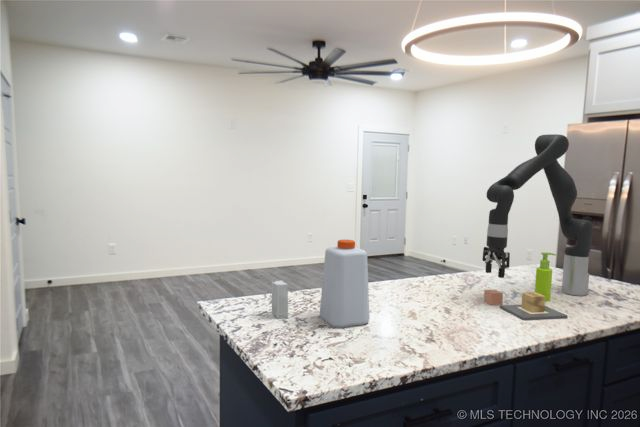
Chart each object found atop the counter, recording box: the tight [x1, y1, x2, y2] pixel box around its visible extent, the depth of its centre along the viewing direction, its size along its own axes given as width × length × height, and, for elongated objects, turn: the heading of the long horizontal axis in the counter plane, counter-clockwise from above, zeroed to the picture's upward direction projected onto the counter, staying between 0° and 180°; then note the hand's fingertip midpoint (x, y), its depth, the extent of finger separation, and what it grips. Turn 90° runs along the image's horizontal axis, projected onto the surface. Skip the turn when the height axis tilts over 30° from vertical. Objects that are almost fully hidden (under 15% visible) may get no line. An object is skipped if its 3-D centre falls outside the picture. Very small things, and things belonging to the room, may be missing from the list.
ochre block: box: [520, 291, 546, 313], centre depth 156 cm, size 6×6×6 cm
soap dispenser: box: [534, 251, 557, 302], centre depth 173 cm, size 6×7×20 cm
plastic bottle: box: [319, 239, 370, 328], centre depth 143 cm, size 15×15×28 cm
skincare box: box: [270, 279, 289, 320], centre depth 146 cm, size 6×4×12 cm
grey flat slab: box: [499, 304, 568, 321], centre depth 156 cm, size 18×14×1 cm
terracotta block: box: [483, 289, 504, 306], centre depth 167 cm, size 5×5×5 cm
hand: (494, 275), depth 166 cm, fingers open, 8 cm apart
